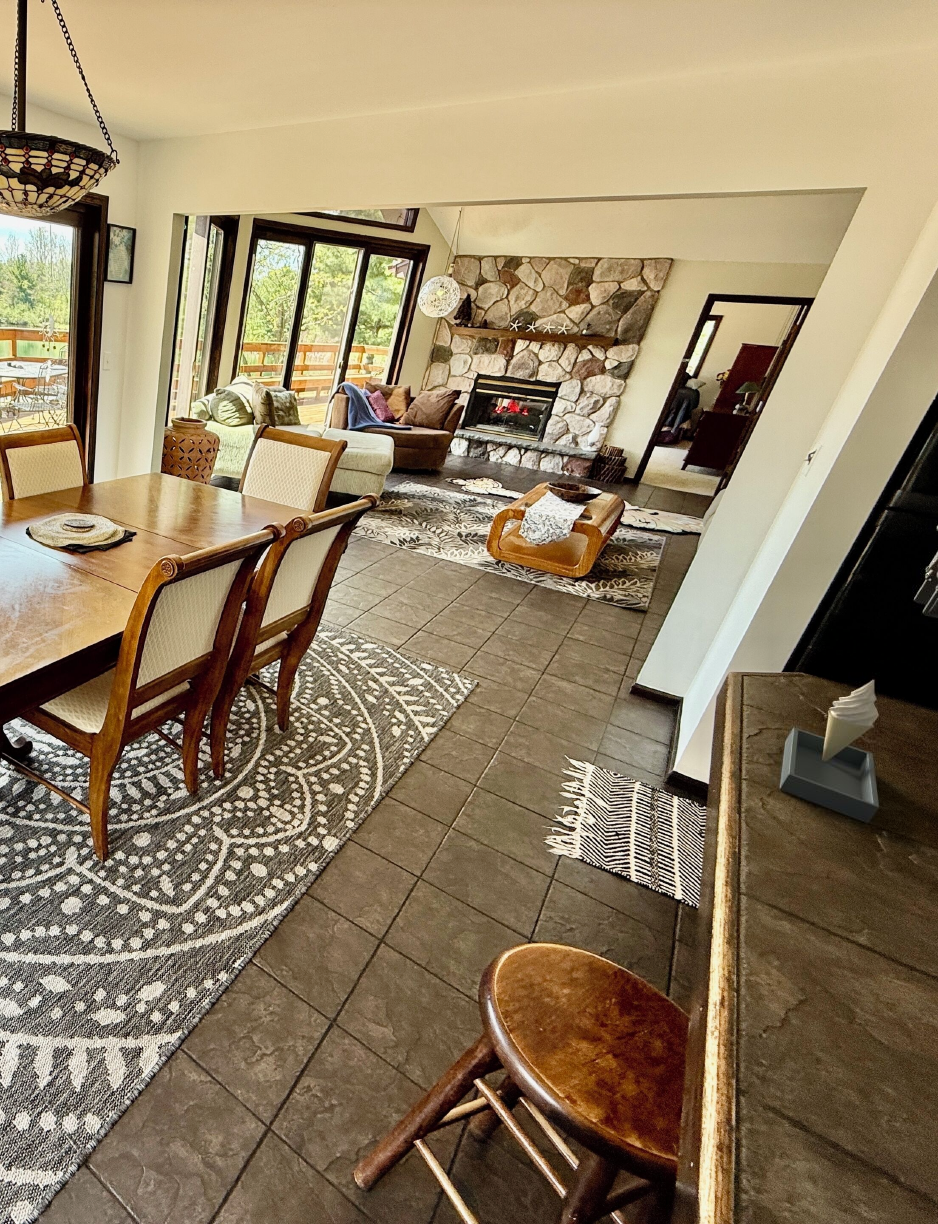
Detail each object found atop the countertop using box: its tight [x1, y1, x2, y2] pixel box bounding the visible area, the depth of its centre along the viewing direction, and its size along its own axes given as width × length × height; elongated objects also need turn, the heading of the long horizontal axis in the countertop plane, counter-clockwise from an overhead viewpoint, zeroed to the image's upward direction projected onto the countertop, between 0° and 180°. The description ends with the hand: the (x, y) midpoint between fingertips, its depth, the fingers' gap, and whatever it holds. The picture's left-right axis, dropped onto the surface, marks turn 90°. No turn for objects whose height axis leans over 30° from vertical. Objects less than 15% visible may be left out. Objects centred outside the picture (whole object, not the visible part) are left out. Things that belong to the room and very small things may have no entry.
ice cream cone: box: [822, 679, 879, 762], centre depth 99 cm, size 5×5×15 cm
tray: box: [779, 727, 880, 824], centre depth 98 cm, size 20×9×3 cm, turn 133°
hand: (927, 610), depth 97 cm, fingers open, 8 cm apart
